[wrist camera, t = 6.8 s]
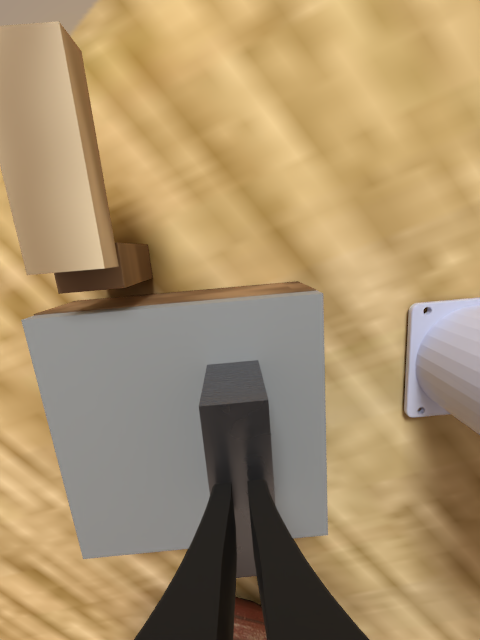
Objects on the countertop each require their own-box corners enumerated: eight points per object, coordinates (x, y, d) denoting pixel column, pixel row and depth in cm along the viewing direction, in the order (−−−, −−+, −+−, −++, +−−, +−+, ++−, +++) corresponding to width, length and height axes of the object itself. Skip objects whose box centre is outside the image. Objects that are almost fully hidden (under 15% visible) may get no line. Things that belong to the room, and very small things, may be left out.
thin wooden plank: (81, 51, 11) (58, 21, 10) (118, 266, 13) (104, 268, 12) (1, 57, 11) (-34, 28, 10) (49, 272, 13) (27, 275, 12)
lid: (316, 290, 15) (359, 310, 10) (322, 519, 18) (356, 618, 13) (35, 315, 15) (-62, 347, 10) (91, 542, 18) (39, 650, 13)
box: (296, 232, 18) (320, 225, 13) (305, 471, 22) (326, 534, 17) (64, 251, 18) (2, 252, 13) (115, 489, 22) (81, 558, 17)
